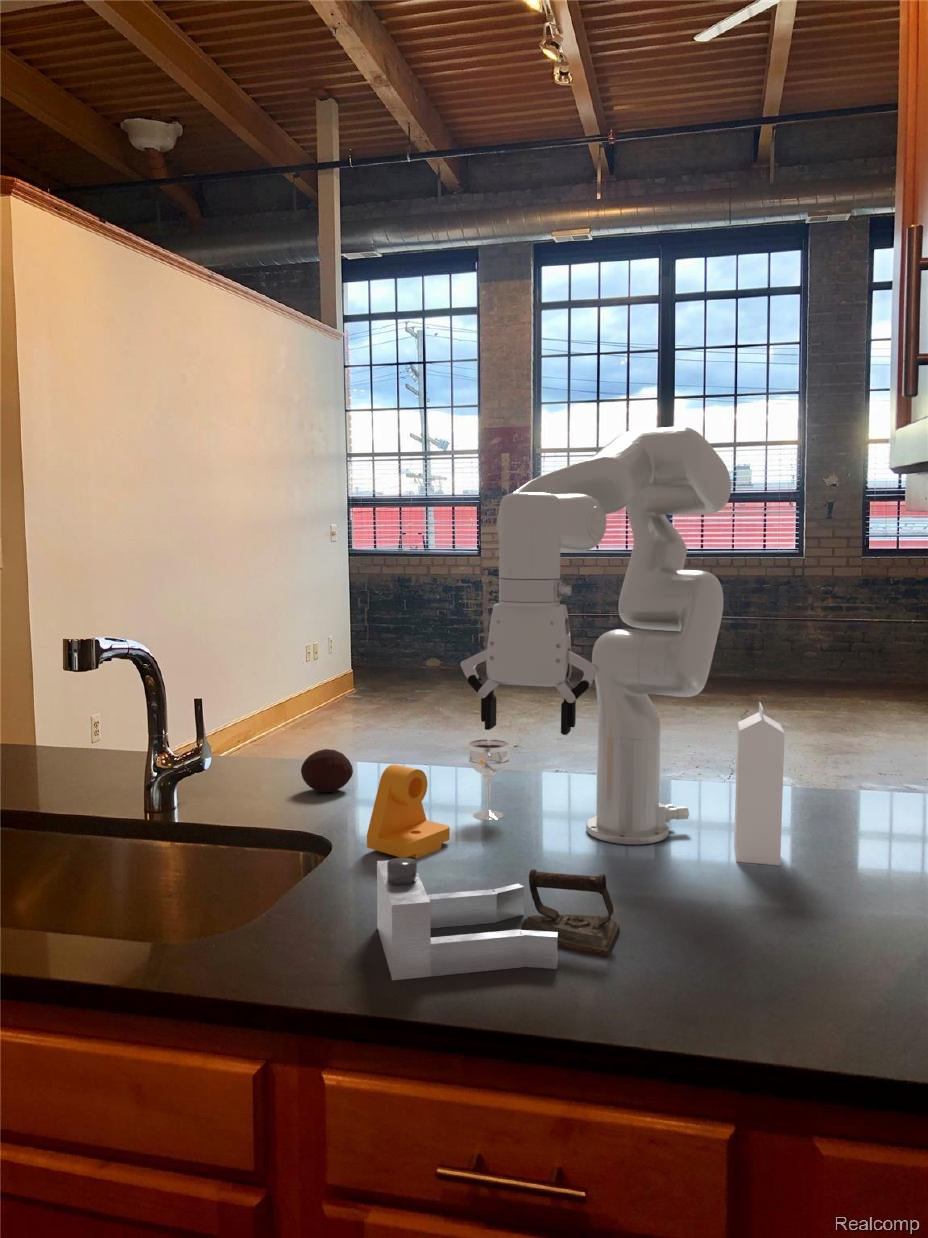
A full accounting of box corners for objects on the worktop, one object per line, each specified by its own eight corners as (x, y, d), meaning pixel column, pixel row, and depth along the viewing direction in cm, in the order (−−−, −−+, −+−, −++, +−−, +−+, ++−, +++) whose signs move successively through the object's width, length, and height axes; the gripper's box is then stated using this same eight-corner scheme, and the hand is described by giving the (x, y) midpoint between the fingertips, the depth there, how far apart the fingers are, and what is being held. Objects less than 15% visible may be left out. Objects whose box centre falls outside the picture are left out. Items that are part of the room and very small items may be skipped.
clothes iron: (615, 963, 98) (593, 877, 97) (519, 970, 103) (496, 887, 102) (626, 931, 105) (605, 850, 104) (534, 938, 109) (514, 860, 108)
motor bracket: (521, 911, 111) (521, 831, 110) (560, 968, 96) (561, 877, 95) (376, 923, 107) (375, 841, 106) (393, 986, 92) (393, 890, 91)
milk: (735, 862, 128) (739, 708, 126) (733, 848, 134) (736, 700, 132) (781, 866, 126) (785, 710, 124) (777, 851, 132) (781, 702, 130)
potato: (301, 786, 167) (300, 745, 166) (352, 784, 168) (351, 743, 168) (301, 799, 159) (300, 755, 158) (354, 796, 160) (354, 753, 160)
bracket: (404, 864, 127) (403, 780, 126) (366, 853, 131) (366, 772, 130) (452, 844, 135) (452, 765, 134) (415, 834, 140) (415, 758, 139)
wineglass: (465, 821, 146) (465, 747, 145) (469, 808, 153) (470, 738, 152) (507, 822, 146) (508, 749, 144) (510, 810, 152) (510, 739, 151)
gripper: (603, 593, 113) (601, 729, 114) (470, 590, 118) (469, 720, 119) (594, 596, 106) (592, 741, 107) (453, 593, 111) (452, 732, 112)
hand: (527, 730), depth 113 cm, fingers open, 9 cm apart
